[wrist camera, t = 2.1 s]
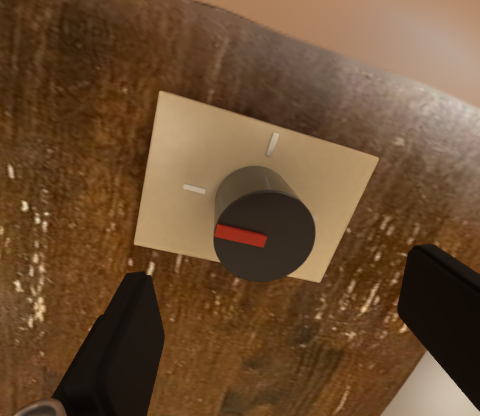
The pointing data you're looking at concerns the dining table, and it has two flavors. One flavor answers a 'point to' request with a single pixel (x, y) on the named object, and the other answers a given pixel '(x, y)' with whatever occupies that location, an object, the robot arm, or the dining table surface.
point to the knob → (261, 225)
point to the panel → (231, 159)
